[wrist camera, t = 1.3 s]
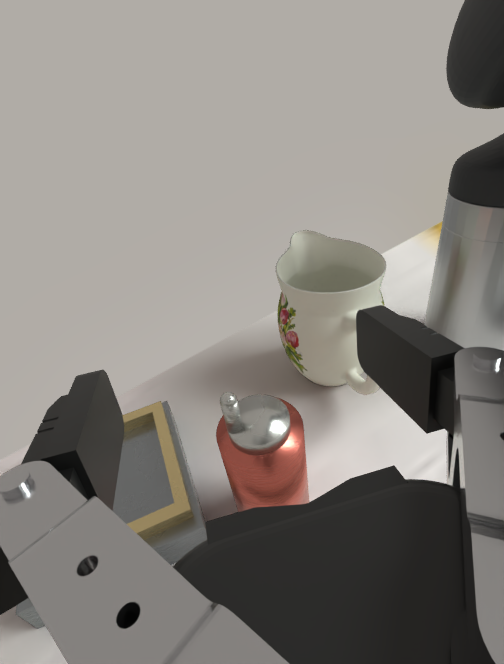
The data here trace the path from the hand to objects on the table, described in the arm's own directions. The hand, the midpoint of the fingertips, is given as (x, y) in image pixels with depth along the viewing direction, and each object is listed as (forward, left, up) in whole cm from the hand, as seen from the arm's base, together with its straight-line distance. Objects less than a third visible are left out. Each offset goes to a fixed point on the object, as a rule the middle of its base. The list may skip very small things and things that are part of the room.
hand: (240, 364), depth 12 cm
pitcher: (-15, -18, -23) cm, 33 cm away
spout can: (-2, -6, -22) cm, 23 cm away
